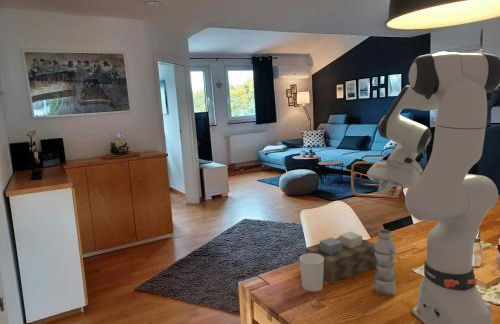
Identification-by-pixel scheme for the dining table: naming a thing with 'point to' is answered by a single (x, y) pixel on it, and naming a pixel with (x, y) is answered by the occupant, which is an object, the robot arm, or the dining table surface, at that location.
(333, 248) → the blue-grey square block
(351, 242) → the light beige square block
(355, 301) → the dining table surface
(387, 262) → the plastic bottle
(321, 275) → the white cup
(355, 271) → the brown rectangular block
